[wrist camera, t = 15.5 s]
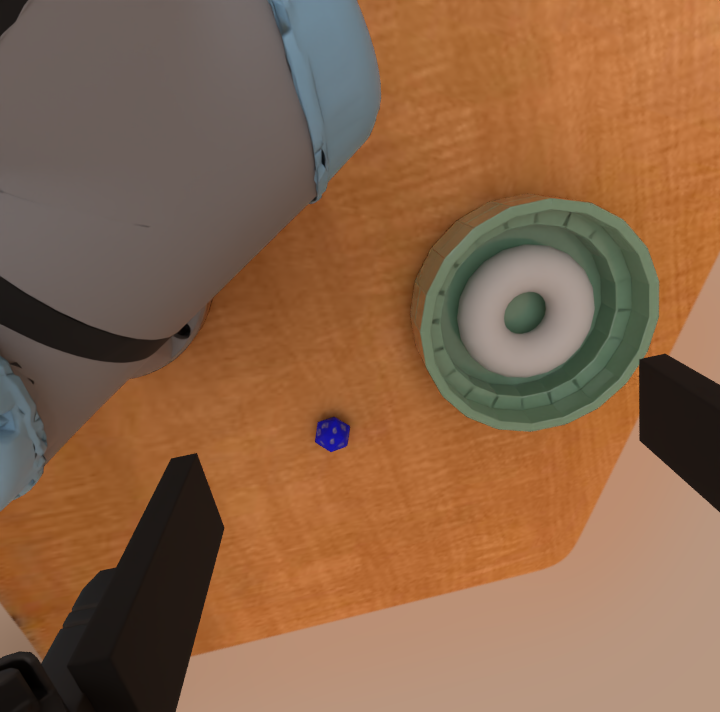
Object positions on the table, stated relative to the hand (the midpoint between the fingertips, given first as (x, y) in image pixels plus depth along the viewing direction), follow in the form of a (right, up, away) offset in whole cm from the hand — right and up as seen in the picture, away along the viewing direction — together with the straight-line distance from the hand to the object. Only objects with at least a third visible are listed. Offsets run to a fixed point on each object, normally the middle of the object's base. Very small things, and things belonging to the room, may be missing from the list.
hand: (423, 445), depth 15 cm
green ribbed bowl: (+10, +7, +25) cm, 27 cm away
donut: (+10, +6, +24) cm, 27 cm away
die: (-4, -3, +28) cm, 28 cm away
